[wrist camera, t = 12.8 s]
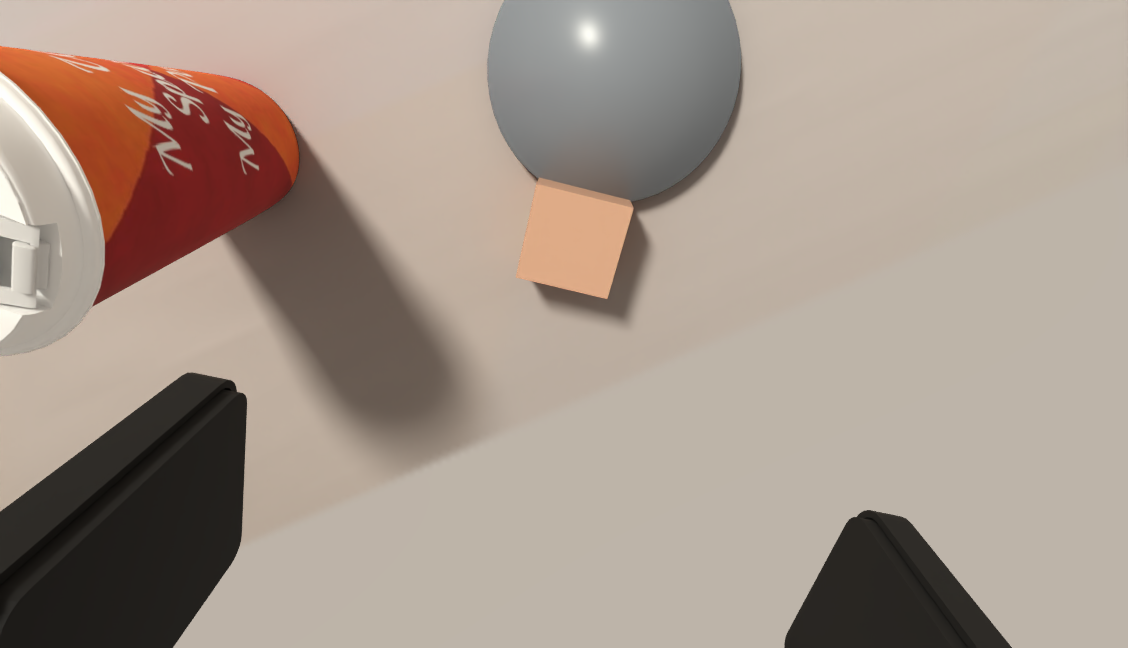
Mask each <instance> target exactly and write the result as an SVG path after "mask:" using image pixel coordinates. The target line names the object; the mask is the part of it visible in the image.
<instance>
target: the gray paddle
mask: <svg viewBox="0 0 1128 648" xmlns="http://www.w3.org/2000/svg"><path fill="white" fill-rule="evenodd" d="M487 66H488V87H489V95H490V100H491V104H492V108H493V112H494V116H495V118H496V121H497V123H498V126H499V129H500V131H501V133H502V135H503V137H504V138H505V140H506V142H507V144H508V146H509V147H510V149H511V150H512V151H513V153H514V154H515V156H516V157H517V159H518V160H519V161H520V162H521V163H522V164H523V165H524V166H525V167H526V168H527V170H528V171H530V172H531V173H532V174H533V175H534V176H536V177H537V178H538V181H537V184H536V188H535V193H534V197H533V202H532V206H531V211H530V215H529V220H528V224H527V229H526V233H525V238H524V242H523V247H522V251H521V256H520V260H519V265H518V269H517V274H516V278H521V279H525V280H529V281H533V282H538V283H542V284H546V285H550V286H554V287H559V288H563V289H567V290H571V291H575V292H580V293H584V294H588V295H592V296H596V297H601V298H605V299H607V298H608V295H609V291H610V288H611V284H612V281H613V278H614V274H615V271H616V267H617V264H618V260H619V257H620V254H621V250H622V247H623V243H624V240H625V236H626V233H627V230H628V226H629V223H630V219H631V216H632V212H633V209H634V208H633V205H632V203H631V202H632V201H637V200H641V199H644V198H647V197H650V196H653V195H656V194H658V193H660V192H662V191H664V190H666V189H668V188H670V187H672V186H673V185H675V184H676V183H678V182H679V181H681V180H682V179H684V178H685V177H686V176H687V175H689V174H690V173H691V172H692V171H693V170H694V169H696V168H697V167H698V166H699V164H700V163H701V162H702V161H703V160H704V159H705V158H706V157H707V156H708V155H709V153H710V152H711V150H712V149H713V148H714V146H715V145H716V143H717V142H718V140H719V139H720V137H721V135H722V133H723V131H724V129H725V128H726V126H727V123H728V121H729V118H730V116H731V113H732V111H733V108H734V105H735V101H736V97H737V93H738V88H739V81H740V75H741V49H740V39H739V34H738V29H737V25H736V20H735V17H734V14H733V12H732V9H731V6H730V3H729V1H728V0H504V2H503V4H502V6H501V8H500V11H499V13H498V16H497V19H496V21H495V24H494V27H493V31H492V36H491V40H490V44H489V53H488V62H487Z"/></svg>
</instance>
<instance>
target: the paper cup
mask: <svg viewBox="0 0 1128 648" xmlns="http://www.w3.org/2000/svg"><path fill="white" fill-rule="evenodd" d="M298 168H299V148H298V143H297V139H296V136H295V133H294V130H293V128H292V126H291V124H290V122H289V120H288V118H287V117H286V115H285V114H284V112H283V111H282V110H281V108H280V107H279V106H278V105H277V104H276V103H275V102H274V101H273V100H272V99H271V98H270V97H269V96H268V95H266V94H265V93H264V92H262V91H261V90H259V89H258V88H256V87H254V86H252V85H250V84H248V83H246V82H243V81H240V80H237V79H234V78H229V77H225V76H220V75H214V74H208V73H202V72H195V71H188V70H180V69H173V68H166V67H158V66H151V65H143V64H135V63H128V62H120V61H112V60H105V59H97V58H89V57H81V56H73V55H65V54H57V53H49V52H42V51H34V50H26V49H18V48H10V47H2V46H0V356H9V355H16V354H22V353H28V352H31V351H34V350H37V349H40V348H43V347H46V346H48V345H50V344H52V343H54V342H55V341H57V340H59V339H61V338H63V337H64V336H66V335H67V334H68V333H69V332H71V331H72V330H73V329H74V328H75V327H76V326H77V325H78V324H80V323H81V321H82V320H83V319H84V317H85V316H86V314H87V313H88V312H89V310H90V309H91V307H92V306H94V305H96V304H98V303H100V302H102V301H103V300H105V299H107V298H109V297H111V296H112V295H114V294H116V293H118V292H120V291H122V290H123V289H125V288H127V287H129V286H131V285H132V284H134V283H136V282H138V281H140V280H142V279H143V278H145V277H147V276H149V275H151V274H152V273H154V272H156V271H158V270H160V269H162V268H163V267H165V266H167V265H169V264H171V263H173V262H174V261H176V260H178V259H180V258H182V257H184V256H185V255H187V254H189V253H191V252H193V251H194V250H196V249H198V248H200V247H202V246H203V245H205V244H207V243H209V242H211V241H212V240H214V239H216V238H218V237H220V236H221V235H223V234H225V233H227V232H229V231H230V230H232V229H234V228H236V227H238V226H239V225H241V224H243V223H245V222H246V221H248V220H250V219H252V218H253V217H255V216H257V215H258V214H260V213H262V212H263V211H265V210H267V209H268V208H270V207H272V206H273V205H274V204H276V203H277V202H279V201H280V200H281V199H282V198H283V197H284V196H285V195H286V194H287V193H288V192H289V190H290V189H291V187H292V186H293V184H294V182H295V179H296V176H297V173H298Z"/></svg>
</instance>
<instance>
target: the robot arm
mask: <svg viewBox="0 0 1128 648" xmlns="http://www.w3.org/2000/svg"><path fill="white" fill-rule="evenodd" d="M246 415H247V398H246V396H245V395H244V394H243V393H239V392H237V390H236V386H235V383H234V382H232V381H231V380H226V379H222V378H217V377H212V376H207V375H202V374H197V373H186V374H184V375H182V376H181V377H180V378H178V379H177V380H176V381H174V382H173V383H171V384H170V385H169V386H167V387H166V388H165V389H163V390H162V391H161V392H159V393H158V394H157V395H155V396H154V397H153V398H151V399H150V400H149V401H147V402H146V403H145V404H143V405H142V406H141V407H139V408H138V409H137V410H135V411H134V412H133V413H131V414H130V415H129V416H127V417H126V418H125V419H123V420H122V421H121V422H119V423H118V424H117V425H115V426H114V427H113V428H111V429H110V430H109V431H107V432H106V433H105V434H103V435H102V436H101V437H99V438H98V439H97V440H95V441H94V442H93V443H91V444H90V445H89V446H87V447H86V448H85V449H83V450H82V451H81V452H79V453H78V454H77V455H75V456H74V457H73V458H71V459H70V460H69V461H67V462H66V463H65V464H63V465H62V466H61V467H59V468H58V469H57V470H55V471H54V472H53V473H51V474H50V475H49V476H47V477H46V478H45V479H43V480H42V481H41V482H39V483H38V484H37V485H35V486H34V487H33V488H31V489H30V490H29V491H27V492H26V493H25V494H23V495H22V496H21V497H19V498H18V499H17V500H15V501H14V502H13V503H11V504H10V505H9V506H7V507H6V508H5V509H3V510H2V511H1V512H0V648H173V646H174V645H175V644H176V642H177V641H178V639H179V638H180V637H181V635H182V634H183V632H184V631H185V629H186V628H187V626H188V625H189V624H190V622H191V621H192V619H193V618H194V616H195V615H196V614H197V612H198V611H199V609H200V608H201V606H202V605H203V603H204V602H205V601H206V599H207V598H208V596H209V595H210V594H211V592H212V591H213V589H214V588H215V586H216V585H217V584H218V582H219V581H220V579H221V578H222V576H223V575H224V573H225V572H226V571H227V569H228V568H229V566H230V565H231V563H232V562H233V560H234V558H235V556H236V554H237V552H238V549H239V546H240V542H241V536H242V513H243V489H244V464H245V439H246ZM785 648H1012V647H1011V646H1010V645H1009V644H1008V642H1007V641H1006V640H1005V639H1004V638H1003V636H1002V635H1001V634H1000V632H999V631H998V630H997V629H996V628H995V627H994V625H993V624H992V623H991V621H990V620H989V619H988V618H987V617H986V615H985V614H984V613H983V611H982V610H981V609H980V608H979V607H978V605H977V604H976V603H975V602H974V601H973V599H972V598H971V597H970V595H969V594H968V593H967V592H966V591H965V589H964V588H963V587H962V586H961V584H960V583H959V582H958V581H957V579H956V578H955V577H954V576H953V574H952V573H951V572H950V571H949V569H948V568H947V567H946V566H945V564H944V563H943V562H942V561H941V560H940V558H939V557H938V556H937V555H936V553H935V552H934V551H933V550H932V548H931V547H930V546H929V545H928V544H927V542H926V541H925V540H924V539H923V537H922V536H921V535H920V534H919V532H918V531H917V530H916V529H915V528H914V526H913V525H912V524H911V523H910V522H909V521H908V520H907V519H906V518H903V517H900V516H895V515H891V514H886V513H881V512H876V511H871V510H867V511H863V512H861V513H860V514H859V515H858V516H857V517H853V518H851V519H850V520H849V521H848V522H847V523H846V525H845V527H844V529H843V531H842V533H841V534H840V536H839V538H838V540H837V542H836V544H835V545H834V547H833V549H832V551H831V553H830V555H829V556H828V558H827V561H826V562H825V564H824V566H823V568H822V570H821V571H820V573H819V575H818V577H817V579H816V581H815V582H814V585H813V587H812V588H811V590H810V592H809V594H808V595H807V598H806V599H805V601H804V603H803V605H802V607H801V609H800V610H799V612H798V614H797V616H796V618H795V620H794V622H793V624H792V625H791V627H790V629H789V631H788V633H787V635H786V639H785Z"/></svg>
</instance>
